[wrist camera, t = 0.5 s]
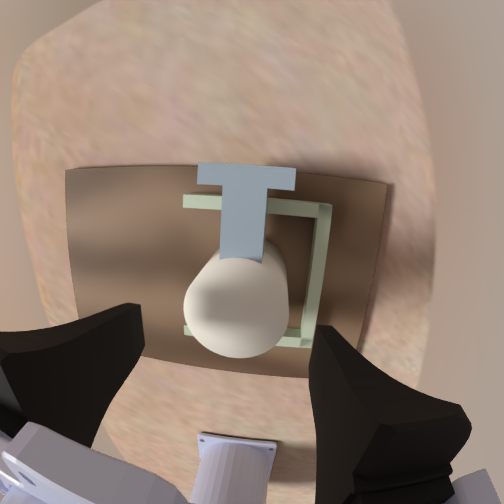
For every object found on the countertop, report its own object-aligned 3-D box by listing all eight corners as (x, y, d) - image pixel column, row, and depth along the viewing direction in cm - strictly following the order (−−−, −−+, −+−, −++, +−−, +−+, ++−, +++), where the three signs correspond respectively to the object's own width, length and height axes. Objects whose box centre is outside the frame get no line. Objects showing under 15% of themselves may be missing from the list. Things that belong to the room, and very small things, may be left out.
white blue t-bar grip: (282, 310, 20) (282, 362, 14) (210, 302, 20) (185, 350, 14) (296, 169, 17) (304, 168, 12) (215, 164, 18) (185, 161, 12)
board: (345, 373, 22) (347, 379, 21) (88, 336, 23) (83, 341, 23) (383, 183, 18) (387, 184, 17) (71, 169, 19) (65, 169, 19)
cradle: (309, 339, 20) (311, 348, 19) (189, 326, 21) (184, 334, 20) (329, 203, 18) (332, 205, 16) (189, 192, 18) (183, 194, 17)
